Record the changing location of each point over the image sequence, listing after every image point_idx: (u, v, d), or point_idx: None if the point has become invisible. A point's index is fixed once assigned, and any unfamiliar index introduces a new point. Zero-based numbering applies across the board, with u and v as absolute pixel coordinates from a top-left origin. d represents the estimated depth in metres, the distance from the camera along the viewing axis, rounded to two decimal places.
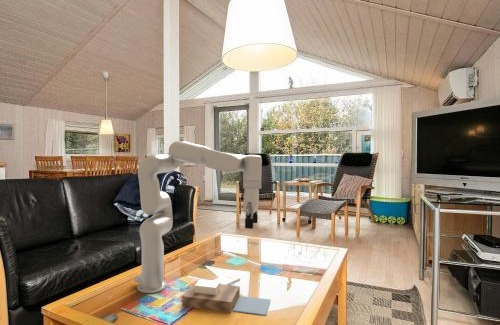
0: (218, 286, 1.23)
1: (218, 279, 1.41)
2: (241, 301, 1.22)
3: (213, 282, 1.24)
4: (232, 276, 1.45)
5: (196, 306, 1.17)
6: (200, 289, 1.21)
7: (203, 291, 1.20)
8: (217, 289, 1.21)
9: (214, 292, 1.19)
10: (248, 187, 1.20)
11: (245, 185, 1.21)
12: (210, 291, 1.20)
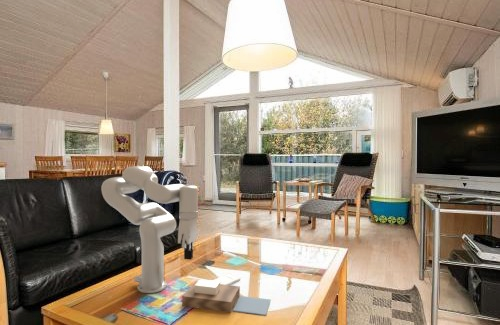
0: (218, 286, 1.23)
1: (218, 279, 1.41)
2: (241, 301, 1.22)
3: (213, 282, 1.24)
4: (232, 276, 1.45)
5: (196, 306, 1.17)
6: (200, 289, 1.21)
7: (203, 291, 1.20)
8: (217, 289, 1.21)
9: (214, 292, 1.19)
10: (183, 218, 1.21)
11: (180, 216, 1.22)
12: (210, 291, 1.20)
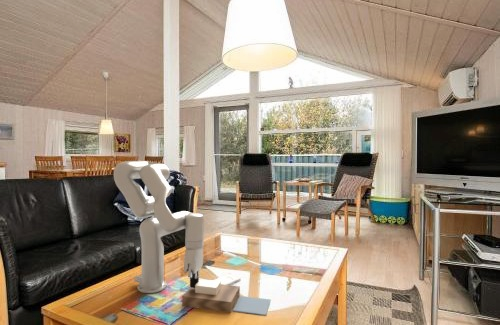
0: (218, 286, 1.23)
1: (218, 279, 1.41)
2: (241, 301, 1.22)
3: (213, 282, 1.24)
4: (232, 276, 1.45)
5: (196, 306, 1.17)
6: (201, 289, 1.21)
7: (203, 291, 1.20)
8: (217, 289, 1.21)
9: (214, 292, 1.19)
10: (189, 248, 1.21)
11: (186, 245, 1.21)
12: (210, 291, 1.20)
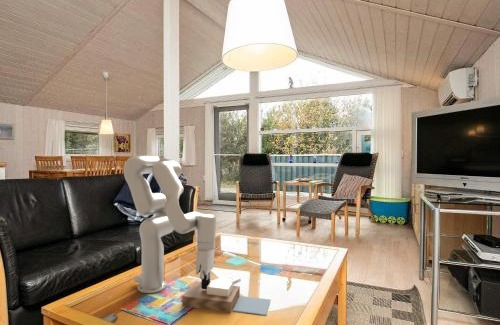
0: (230, 288, 1.22)
1: (218, 279, 1.41)
2: (241, 301, 1.22)
3: (225, 283, 1.23)
4: (233, 276, 1.45)
5: (196, 306, 1.17)
6: (212, 290, 1.20)
7: (215, 293, 1.19)
8: (229, 291, 1.20)
9: (226, 294, 1.18)
10: (201, 249, 1.20)
11: (198, 246, 1.20)
12: (222, 292, 1.19)
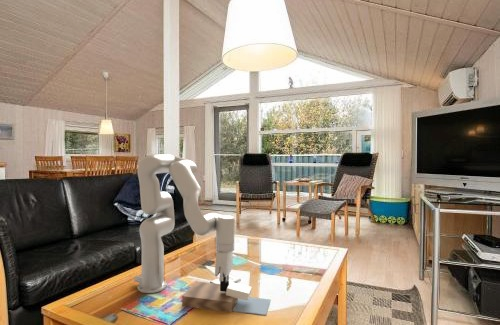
0: (250, 292, 1.20)
1: (218, 279, 1.41)
2: (241, 301, 1.22)
3: (245, 287, 1.21)
4: (233, 276, 1.45)
5: (196, 306, 1.17)
6: (232, 292, 1.18)
7: (235, 295, 1.18)
8: (249, 295, 1.19)
9: (246, 298, 1.17)
10: (220, 250, 1.18)
11: (217, 248, 1.19)
12: (242, 296, 1.17)
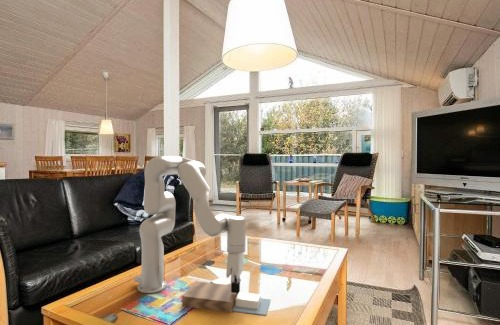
0: (259, 299, 1.20)
1: (218, 279, 1.41)
2: None
3: (253, 295, 1.21)
4: None
5: (196, 306, 1.17)
6: (241, 302, 1.17)
7: (244, 305, 1.17)
8: (258, 303, 1.18)
9: (256, 306, 1.16)
10: (231, 252, 1.17)
11: (228, 249, 1.18)
12: (252, 305, 1.17)
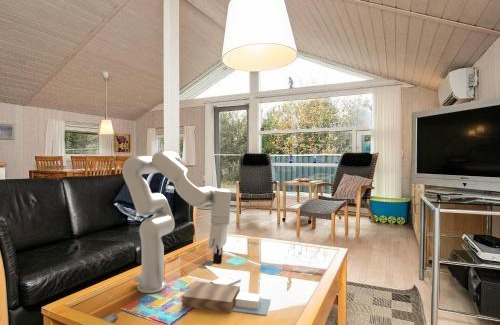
0: (259, 299, 1.20)
1: (219, 279, 1.41)
2: None
3: (253, 295, 1.21)
4: (233, 277, 1.44)
5: (196, 306, 1.17)
6: (241, 302, 1.17)
7: (244, 305, 1.17)
8: (258, 303, 1.18)
9: (256, 306, 1.16)
10: (215, 223, 1.18)
11: (212, 220, 1.19)
12: (252, 305, 1.17)
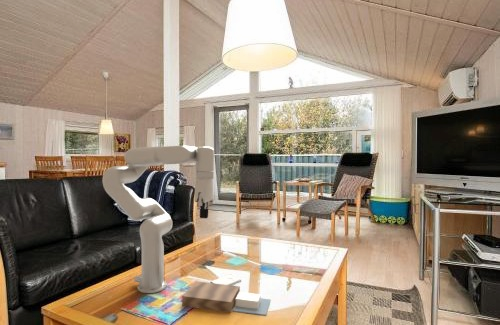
0: (259, 299, 1.20)
1: (219, 280, 1.41)
2: None
3: (253, 295, 1.21)
4: (233, 277, 1.44)
5: (196, 306, 1.17)
6: (241, 302, 1.17)
7: (244, 305, 1.17)
8: (258, 303, 1.18)
9: (256, 306, 1.16)
10: (199, 177, 1.24)
11: (197, 176, 1.25)
12: (252, 305, 1.17)
